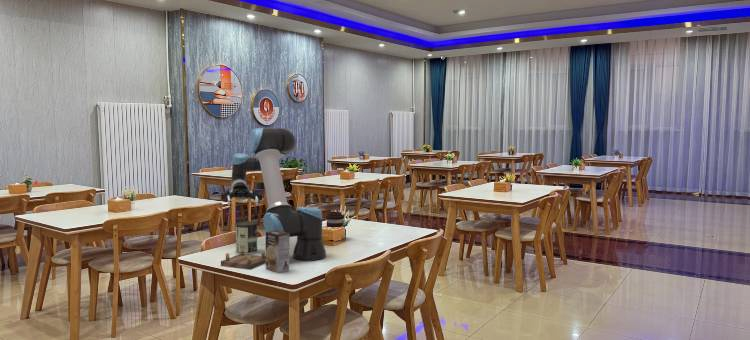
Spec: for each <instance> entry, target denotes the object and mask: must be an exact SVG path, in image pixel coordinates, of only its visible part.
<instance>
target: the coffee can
mask: <svg viewBox="0 0 750 340" xmlns="http://www.w3.org/2000/svg"><path fill="white" fill-rule="evenodd" d="M241 248H244V254H249V255H255V254H257V252H258V222H257V221H239V222H236V223H235V253H236V255H239V254H241Z"/></svg>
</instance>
